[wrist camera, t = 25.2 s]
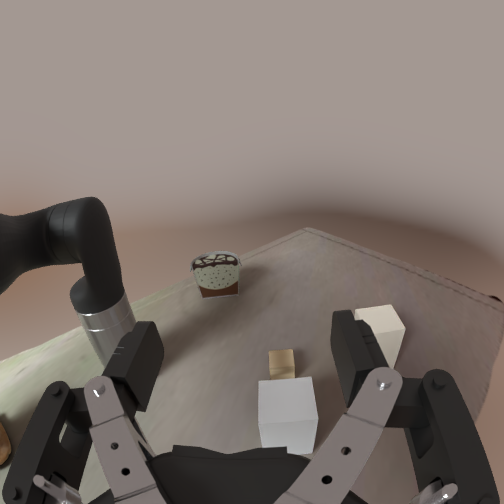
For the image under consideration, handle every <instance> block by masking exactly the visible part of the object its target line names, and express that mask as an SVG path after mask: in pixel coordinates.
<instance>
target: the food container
mask: <svg viewBox="0 0 504 504" xmlns="http://www.w3.org/2000/svg"><path fill="white" fill-rule="evenodd" d="M239 263H240V265H241V262H240V259H239V258H238V256H237V255H236V254H234V253H232V252H227V251H216V252H209V253H205V254H203V255H200V256H198V257H196V258H195V259H194V260H193V261H192V262H191V266H190V271H191V270H193V273H194V276H195V280H196V283H197V286H198V288H199V291H200V294H201V297H202V299H208V298H217V297H227V296H236V295H239ZM241 266H242V265H241Z"/></svg>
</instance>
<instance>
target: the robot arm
mask: <svg viewBox="0 0 504 504" xmlns="http://www.w3.org/2000/svg"><path fill="white" fill-rule="evenodd" d="M74 263H82V266H83V270H84V274H85V276H84V277H82V278H81V279H79V280H78V281H77V282H76V283H75V284H74V285H73V287H72V288H71V290H70V298H71V301H72V304H73V306H74V309H75V311H76V313H77V315H78V317H79V320H80V322H81V324H82V326H83V328H84V330H85V332H86V334H87V336H88V338H89V340H90V342H91V344H92V346H93V348H94V350H95V352H96V354H97V355H98V357H99V359H100V361H101V363H102V364H103V366H104V368H105V370H104V372H103V374H102V376H97V377H94V378H92V379H91V380H90V381H88V382H87V384H86V385H85V387H84V388H76V389H70V388H69V386H68V385H67V383H65V382H63V381H56V382H54V383H52V384H50V385H49V386H48V387H47V388H46V390H45V392H44V394H43V396H42V398H41V400H40V402H39V403H38V405H37V407H36V409H35V412H34V414H33V416H32V418H31V420H30V422H29V424H28V426H27V428H26V431H25V433H24V435H23V437H22V440H21V442H20V444H19V447H18V449H17V451H16V454H15V456H14V459H13V461H12V464H11V466H10V469H9V472H8V475H7V477H6V480H5V483H4V486H3V490H2V495H3V499H4V502H5V503H6V504H83V503H82V502H81V496H80V494H79V492H78V490H79V487H80V483H81V479H82V476H83V472H84V468H85V465H86V462H87V458H88V455H89V452H90V448H91V445H92V442H93V443H94V446H95V449H96V452H97V455H98V458H99V461H100V463H101V466H102V469H103V471H104V474H105V476H106V479H107V481H108V483H109V486H110V489H109V490H107V491H106V492H104V493H103V494H102V495H100V496H99V497H97V498H96V499H94V500H93V501H91V502H90V503H88V504H368V503H367V502H365V501H364V500H363V499H361V498H360V497H359V496H357V495H356V494H355V493H353V492H352V491H351V490H350V489H351V487H352V485H353V484H354V482H355V481H356V479H357V477H358V476H359V474H360V472H361V471H362V469H363V467H364V465H365V464H366V462H367V460H368V458H369V456H370V455H371V453H372V451H373V449H374V447H375V445H376V443H377V441H378V439H379V437H380V435H381V433H382V431H383V429H384V427H394V428H404V431H405V435H406V438H407V442H408V446H409V450H410V454H411V458H412V462H413V466H414V471H415V475H416V480H417V484H418V489H419V493H418V494H417V495H415V496H414V497H413V498H412V500H411V501H410V503H409V504H500V500H499V495H498V491H497V488H496V484H495V481H494V477H493V474H492V471H491V468H490V465H489V462H488V459H487V456H486V453H485V450H484V448H483V445H482V442H481V440H480V437H479V435H478V432H477V430H476V427H475V425H474V422H473V420H472V418H471V415H470V413H469V411H468V408H467V406H466V404H465V402H464V400H463V398H462V395H461V393H460V391H459V389H458V387H457V385H456V383H455V381H454V379H453V377H452V376H451V375H450V374H449V373H448V372H446V371H444V370H440V369H434V370H431V371H429V372H427V373H426V374H425V376H424V377H423V379H417V378H404V377H401V375H400V374H399V373H398V372H397V371H396V370H394V369H392V368H390V367H389V365H388V363H387V361H386V359H385V356H384V354H383V352H382V350H381V348H380V345H379V343H377V339H376V337H375V336H374V333H373V331H372V329H371V326H370V325H368V324H367V323H366V322H365V321H364V320H363V319H361V320H355V318H354V316H353V314H352V312H351V310H342V311H334V312H333V316H332V328H331V350H332V354H333V357H334V361H335V365H336V368H337V372H338V376H339V379H340V383H341V387H342V391H343V395H344V399H345V402H346V406H347V408H349V407H350V408H349V410H348V411H347V413H344V414H343V415H342V416H341V418H340V419H339V421H338V422H337V424H336V426H335V427H334V429H333V430H332V432H331V433H330V435H329V436H328V438H327V439H326V440H325V442H324V443H323V445H322V446H321V448H320V449H319V450H318V452H317V453H316V455H315V456H314V457H313V459H312V460H310V459H308V458H306V457H303V456H300V455H296V454H291V453H287V446H285V447H269V448H256V449H251V450H247V451H243V452H238V453H233V454H224V453H220V452H216V451H212V450H208V449H205V448H201V447H193V446H181V445H173V450H172V452H168V453H163V454H160V455H157V456H156V454H155V453H154V452H153V450H152V448H151V447H150V445H149V443H148V441H147V439H146V437H145V435H144V433H143V431H142V429H141V427H140V425H139V423H138V421H137V419H136V418H135V413H136V411H142V412H146V409H147V406H148V403H149V399H150V396H151V393H152V390H153V387H154V384H155V381H156V378H157V376H158V373H159V370H160V367H161V364H162V361H163V358H164V347H163V344H162V341H161V339H160V336H159V333H158V330H157V327H156V325H155V323H154V322H153V321H138V322H137V323H136V320H135V317H134V315H133V312H132V309H131V307H130V304H129V302H128V299H127V295H126V293H125V290H124V287H123V283H122V275H121V267H120V263H119V259H118V255H117V251H116V246H115V242H114V237H113V232H112V227H111V222H110V219H109V215H108V213H107V210H106V208H105V206H104V205H103V203H102V202H101V201H100V200H99V199H98V198H95V197H85V198H80V199H76V200H72V201H68V202H63V203H60V204H56V205H53V206H51V207H48V208H46V209H42V210H39V211H35V212H32V213H28V214H25V215H19V216H8V215H3V214H0V295H1V294H2V293H3V292H4V291H5V290H6V289H7V288H8V287H9V286H10V285H11V284H12V283H13V282H14V281H15V279H16V278H17V277H19V276H20V275H21V274H22V273H24V272H27V271H29V270H32V269H36V268H40V267H45V266H50V265H64V264H74ZM64 423H66V424H67V427H66V430H65V432H64V435H63V437H62V440H61V443H60V442H59V435H60V433H61V430H62V428H63V425H64Z"/></svg>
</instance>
